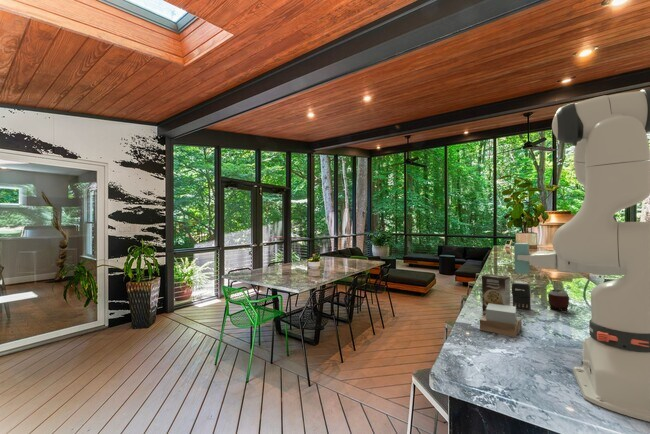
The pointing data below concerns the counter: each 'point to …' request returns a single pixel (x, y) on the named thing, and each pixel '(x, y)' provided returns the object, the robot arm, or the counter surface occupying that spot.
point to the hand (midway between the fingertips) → (519, 256)
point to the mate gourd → (558, 298)
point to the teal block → (521, 265)
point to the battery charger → (521, 295)
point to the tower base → (500, 327)
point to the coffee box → (495, 290)
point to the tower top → (501, 313)
